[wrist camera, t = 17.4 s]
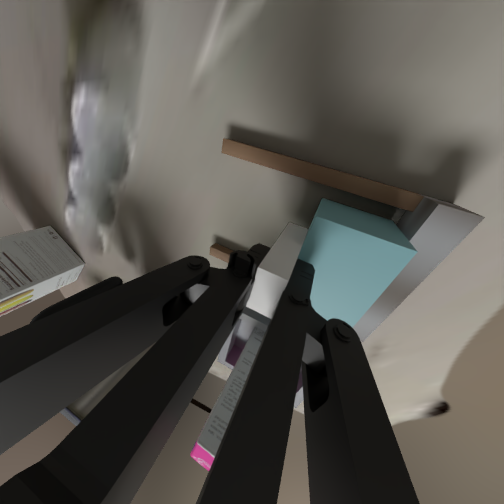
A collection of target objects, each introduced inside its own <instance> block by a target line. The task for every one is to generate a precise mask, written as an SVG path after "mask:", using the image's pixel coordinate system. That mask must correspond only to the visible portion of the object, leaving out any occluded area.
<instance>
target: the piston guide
mask: <svg viewBox="0 0 504 504" xmlns="http://www.w3.org/2000/svg"><path fill="white" fill-rule="evenodd" d="M222 153H224V154H227V155H230V156H234V157H237V158H240V159H243V160H247V161H250V162H253V163H256V164H259V165H263V166H266V167H269V168H272V169H276V170H279V171H282V172H285V173H288V174H292V175H295V176H298V177H301V178H305V179H308V180H311V181H314V182H317V183H321V184H324V185H327V186H330V187H334V188H337V189H340V190H343V191H346V192H350V193H353V194H356V195H359V196H363V197H366V198H369V199H372V200H375V201H379V202H382V203H385V204H388V205H391V206H395V207H398V208H401V209H404V210H407V211H406V212H405V213H404V215H403V216H402V218H401V219H400V220H399V222H398V223H397V225H396V226H397V227H398V228H399V229H400V230H401V232H402V233H403V234H404V235H405V237H406V238H407V239H408V240H409V242H410V243H411V244H412V245H413V247H414V248H415V249H416V250H417V251H418V252H417V253H416V254H415V256H414V257H413V258H412V259H411V260H410V261H409V263H408V264H407V265H406V266H405V267H404V268H403V270H402V271H401V272H400V273H399V274H398V275H397V277H396V278H395V279H394V280H393V281H392V282H391V284H390V285H389V286H388V287H387V288H386V289H385V291H384V292H383V293H382V294H381V295H380V296H379V298H378V299H377V300H376V301H375V302H374V303H373V304H372V306H371V307H370V308H369V309H368V310H367V311H366V313H365V314H364V315H363V316H362V317H361V318H360V320H359V321H358V322H357V323H356V324H355V325H354V327H353V329H354V330H355V331H356V333H357V334H358V336H359V338H360V341H362V342H363V341H364V340H365V339H366V338H367V337H368V336H369V335H370V334H371V333H372V332H373V331H374V330H375V329H376V328H377V327H378V326H379V325H380V324H381V323H382V322H383V321H384V320H385V319H386V318H387V317H388V316H389V315H390V314H391V313H392V312H393V311H394V310H395V309H396V308H397V307H398V306H399V305H400V304H401V303H402V302H403V301H404V300H405V298H406V297H407V296H408V295H409V294H410V293H411V292H412V291H413V290H414V289H415V288H416V287H417V286H418V285H419V284H420V283H421V282H422V281H423V280H424V279H425V278H426V277H427V276H428V275H429V274H430V273H431V272H432V271H433V270H434V269H435V268H436V267H437V266H438V265H439V264H440V263H441V262H442V261H443V260H444V259H445V258H446V257H447V256H448V255H449V254H450V253H451V252H452V250H453V249H454V248H455V247H456V246H457V245H458V244H459V243H460V242H461V241H462V240H463V239H464V238H465V237H466V236H467V235H468V234H469V233H470V232H471V231H472V230H473V229H474V228H475V227H476V226H477V225H478V224H479V223H480V222H481V221H482V220H483V219H484V218H485V217H483V216H480V215H478V214H476V213H473V212H471V211H469V210H467V209H464V208H462V207H460V206H457V205H455V204H452V203H449V202H445V201H442V200H438V199H435V198H431V197H428V196H425V195H421V194H418V193H414V192H411V191H407V190H404V189H400V188H397V187H393V186H390V185H386V184H383V183H380V182H376V181H373V180H369V179H366V178H362V177H359V176H355V175H352V174H348V173H345V172H341V171H338V170H335V169H331V168H328V167H324V166H321V165H317V164H314V163H310V162H307V161H303V160H300V159H296V158H293V157H289V156H286V155H283V154H279V153H276V152H272V151H269V150H265V149H262V148H258V147H255V146H251V145H248V144H244V143H241V142H238V141H234V140H231V139H224V138H223V145H222ZM232 252H233V250H230V249H228V248H226V247H224V246H221V245H219V244H217V243H215V244H214V245H212V246H211V247H210V255H212V256H214V257H216V258H219V259H221V260H223V261H225V262H227V263H229V257H230V253H232Z"/></svg>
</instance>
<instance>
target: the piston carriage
mask: <svg viewBox="0 0 504 504" xmlns="http://www.w3.org/2000/svg"><path fill="white" fill-rule="evenodd" d="M417 252H418V251H417V250H416V249H415V248H414V247H413V245H412V244H411V243H410V242H409V240H408V239H407V238H406V237H405V235H404V234H403V233H402V232H401V230H400V229H399V228H398V227H397V226H396V224H395V223H394V222H393V221H392V220H389V219H386V218H383V217H380V216H377V215H374V214H370V213H367V212H364V211H361V210H358V209H355V208H352V207H349V206H346V205H343V204H340V203H337V202H334V201H331V200H328V199H325V198H322V199H321V202H320V204H319V206H318V209H317V211H316V213H315V215H314V218H313V220H312V222H311V225H310V227H309V229H308V232H307V234H306V237H305V240H304V242H303V245H302V247H301V250H300V253H299V255H298V259H300V260H303V261H305V262H308V263H310V264H312V265H313V267H314V269H315V274H314V279H313V285H312V290H311V295H310V300H311V304H312V307H313V309H314V310H315V311H316V312H317V313H318V314H319V315H321V316H322V317H323V318H325V319H326V320H327V321H328V320H329V319H332V318H336V319H340V320H342V321H345V322H346V323H348V324H349V325H350V326H351V327H352V328H353V327H354V325H355V324H356V323H357V322H358V321H359V320H360V318H361V317H362V316H363V315H364V314H365V313H366V311H367V310H368V309H369V308H370V307H371V306H372V304H373V303H374V302H375V301H376V300H377V299H378V298H379V296H380V295H381V294H382V293H383V292H384V291H385V289H386V288H387V287H388V286H389V285H390V284H391V282H392V281H393V280H394V279H395V278H396V277H397V275H398V274H399V273H400V272H401V271H402V270H403V268H404V267H405V266H406V265H407V264H408V263H409V261H410V260H411V259H412V258H413V257H414V256H415V254H416V253H417Z"/></svg>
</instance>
